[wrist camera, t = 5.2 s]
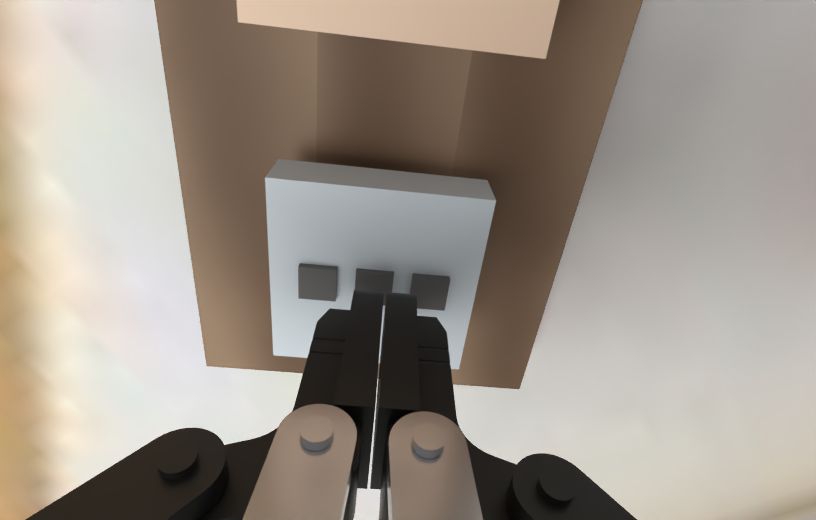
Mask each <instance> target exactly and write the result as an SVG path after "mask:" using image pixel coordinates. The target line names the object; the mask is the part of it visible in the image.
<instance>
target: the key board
mask: <svg viewBox="0 0 816 520" xmlns="http://www.w3.org/2000/svg"><path fill="white" fill-rule="evenodd" d="M642 1H643V0H560V1H559V5H558V9H557V14H556V18H555V22H554V26H553V30H552V35H551V39H550V43H549V47H548V51H547V55H546V59H541V58H533V57H525V56H516V55H508V54H500V53H491V52H483V51H474V50H466V49H458V48H449V47H441V46H433V45H424V44H416V43H408V42H399V41H391V40H383V39H374V38H366V37H357V36H349V35H341V34H332V33H324V32H316V31H307V30H299V29H291V28H282V27H274V26H265V25H257V24H249V23H240V22H238V16H237V0H154V2H155V9H156V16H157V23H158V30H159V37H160V44H161V51H162V58H163V65H164V72H165V79H166V86H167V93H168V100H169V107H170V114H171V121H172V128H173V134H174V141H175V148H176V155H177V162H178V169H179V176H180V183H181V190H182V197H183V204H184V211H185V218H186V225H187V232H188V239H189V246H190V253H191V260H192V267H193V274H194V281H195V288H196V295H197V302H198V309H199V316H200V323H201V330H202V337H203V344H204V351H205V358H206V365H207V366H213V367H227V368H240V369H254V370H267V371H281V372H294V373H303V372H304V368H305V365H306V361H307V358H301V357H288V356H275V355H273V338H272V317H271V295H270V274H269V252H268V231H267V210H266V188H265V177H266V175H267V174H268V173H269V171H270V170H271V169H272V167H273V166H274V164H275V163H276V162H277V160H278V159H286V160H296V161H305V162H315V163H325V164H335V165H345V166H354V167H364V168H374V169H384V170H394V171H403V172H413V173H423V174H433V175H443V176H452V177H462V178H472V179H482V180H488V183H489V185H490V187H491V190H492V192H493V194H494V197H495V199H496V204H495V208H494V213H493V217H492V222H491V226H490V231H489V235H488V240H487V244H486V249H485V253H484V258H483V262H482V267H481V271H480V276H479V281H478V285H477V290H476V294H475V299H474V303H473V308H472V312H471V317H470V321H469V326H468V330H467V335H466V339H465V344H464V348H463V353H462V357H461V362H460V366H459V369H451V374H452V383H453V384H457V385H470V386H484V387H498V388H511V389H519V388H520V385H521V382H522V379H523V376H524V373H525V369H526V366H527V363H528V360H529V357H530V354H531V351H532V347H533V344H534V341H535V338H536V335H537V332H538V328H539V325H540V322H541V319H542V316H543V313H544V310H545V306H546V303H547V300H548V297H549V294H550V291H551V288H552V284H553V281H554V278H555V275H556V272H557V269H558V265H559V262H560V259H561V256H562V253H563V250H564V247H565V243H566V240H567V237H568V234H569V231H570V228H571V225H572V221H573V218H574V215H575V212H576V209H577V206H578V202H579V199H580V196H581V193H582V190H583V187H584V184H585V180H586V177H587V174H588V171H589V168H590V165H591V162H592V158H593V155H594V152H595V149H596V146H597V143H598V140H599V136H600V133H601V130H602V127H603V124H604V121H605V117H606V114H607V111H608V108H609V105H610V102H611V99H612V95H613V92H614V89H615V86H616V83H617V80H618V77H619V73H620V70H621V67H622V64H623V61H624V58H625V54H626V51H627V48H628V45H629V42H630V39H631V36H632V32H633V29H634V26H635V23H636V20H637V17H638V14H639V10H640V7H641V4H642ZM379 366H380V363H378V376H377V379H379Z"/></svg>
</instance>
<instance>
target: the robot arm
mask: <svg viewBox="0 0 816 520" xmlns="http://www.w3.org/2000/svg"><path fill="white" fill-rule="evenodd" d="M383 298H384V292H379V291H368V290H356V289H354V292H353V298H352V303H351V309H350V310H343V309H331V308H330V309H329V310H328V311H327V312H326V313H325V314H324V315H323V316H322V317H321V318H320V319H319V320H318V321H317V324H316V328H315V331H314V335H313V340H312V342H311V346H310V350H309V354H308V357H307V361H306V365H305V368H304V372H303V376H302V380H301V383H300V387H299V391H298V395H297V398H296V402H295V406H294V408H293V411H292V412H291V413H290V414H289V415H288V416H286V417H285V418H284V419H283V421H282V422H281V423H280V425H279V427H278V428H277V429H275V430H274V431H272V432H270V433H268V434H266V435H264V436H261V437H258V438H255V439H251V440H246V441H242V442H237V443H232V444H227V445H224V444H223V442H222V441H221V439H220V438H219V437H218V436H217V435H215V434H214V433H212V432H210V431H208V430H205V429H201V428H184V429H178V430H175V431H171V432H169V433H166V434H164V435H162V436H160V437H158V438H156V439H155V440H153V441H152V442H150V443H148V444H147V445H145V446H144V447H142V448H140V449H139V450H137V451H135V452H134V453H132V454H131V455H129V456H127V457H126V458H124V459H123V460H121V461H119V462H118V463H116V464H114V465H113V466H111V467H110V468H108V469H106V470H105V471H103V472H102V473H100V474H98V475H97V476H95V477H94V478H92V479H90V480H89V481H87V482H85V483H84V484H82V485H81V486H79V487H77V488H76V489H74V490H73V491H71V492H69V493H68V494H66V495H64V496H63V497H61V498H60V499H58V500H56V501H55V502H53V503H52V504H50V505H48V506H47V507H45V508H44V509H42V510H40V511H39V512H37V513H35V514H34V515H32V516H31V517H29V518H27V519H26V520H353V518H354V513H355V505H356V495H357V488H365V489H367V484H368V473H369V463H370V453H371V443H372V433H373V423H374V413H375V401H376V388H377V376H378V363H379V350H380V337H381V324H382V311H383ZM448 350H449V347H448V338H447V332H446V330H445V329H444V327H443V326H442V324H441V323H440V321H439V320H438V319H437V317H428V316H417V296H416V295H415V294H404V293H392V292H387V293H386V303H385V313H384V323H383V333H382V343H381V354H380V366H379V379H378V393H377V406H376V420H375V433H374V447H373V460H372V473H371V487H370V489H381V494H380V512H379V520H637V519H635V518H634V517H633V516H632V515H631V514H630V513H629V512H627V511H626V510H625V509H624V508H623V507H622V506H621V505H619V504H618V503H617V502H616V501H615V500H614V499H613V498H612V497H610V496H609V495H608V494H607V493H606V492H605V491H604V490H602V489H601V488H600V487H599V486H598V485H597V484H596V483H594V482H593V481H592V480H591V479H590V478H589V477H588V476H586V475H585V474H584V473H583V472H582V471H581V470H580V469H578V468H577V467H576V466H575V465H573V464H572V463H570V462H568V461H567V460H565V459H563V458H560V457H558V456H555V455H550V454H532V455H530V456H527V457H525V458H524V459H522V460H521V461H520V462H519V463H518V464H517V465H516V464H513V463H511V462H508V461H505V460H502V459H500V458H497V457H494V456H492V455H489V454H487V453H485V452H483V451H482V450H480V449H478V448H477V447H476V446H474V445H473V444H472V443H471V442H470V441H469V440H468V439H467V438H466V437H465V436H464V434H463V433H462V431H461V429H460V428H459V425H458V422H457V418H456V410H455V401H454V392H453V383H452V374H451V365H450V356H449V352H448Z"/></svg>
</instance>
